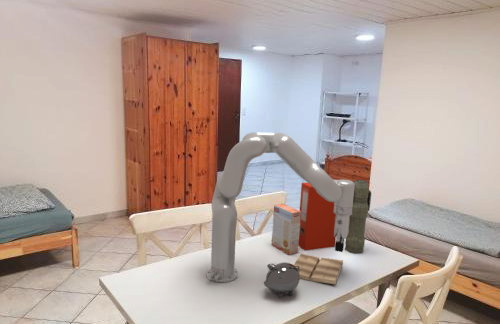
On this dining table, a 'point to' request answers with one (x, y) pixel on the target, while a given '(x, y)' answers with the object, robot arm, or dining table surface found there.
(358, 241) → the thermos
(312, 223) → the file binder
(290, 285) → the piggy bank
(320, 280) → the board
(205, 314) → the dining table surface
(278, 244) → the cracker box
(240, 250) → the dining table surface
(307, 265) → the laid planks
